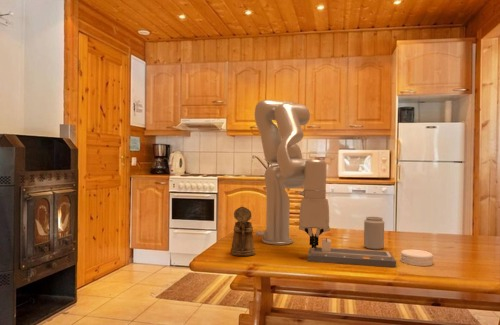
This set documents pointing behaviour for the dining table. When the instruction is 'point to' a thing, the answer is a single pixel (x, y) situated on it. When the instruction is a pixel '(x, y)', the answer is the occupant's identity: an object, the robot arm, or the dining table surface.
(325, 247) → the cap
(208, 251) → the dining table surface
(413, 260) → the white cheese wheel
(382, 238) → the can
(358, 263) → the dark grey tray
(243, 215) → the brown bell figurine
